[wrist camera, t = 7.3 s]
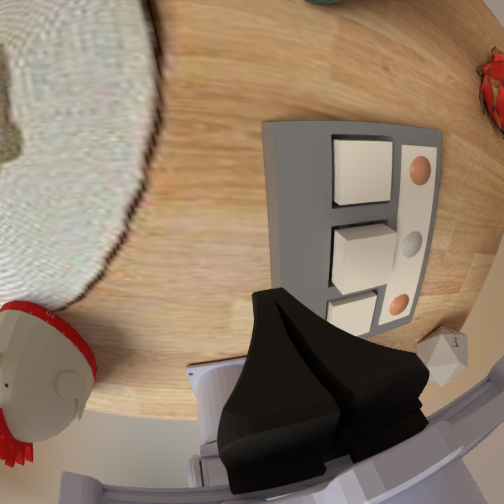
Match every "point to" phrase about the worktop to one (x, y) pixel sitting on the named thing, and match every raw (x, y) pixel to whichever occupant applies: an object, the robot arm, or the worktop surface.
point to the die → (443, 354)
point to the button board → (348, 212)
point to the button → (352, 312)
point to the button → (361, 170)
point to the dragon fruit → (493, 88)
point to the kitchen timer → (39, 378)
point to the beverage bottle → (324, 1)
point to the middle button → (363, 257)
